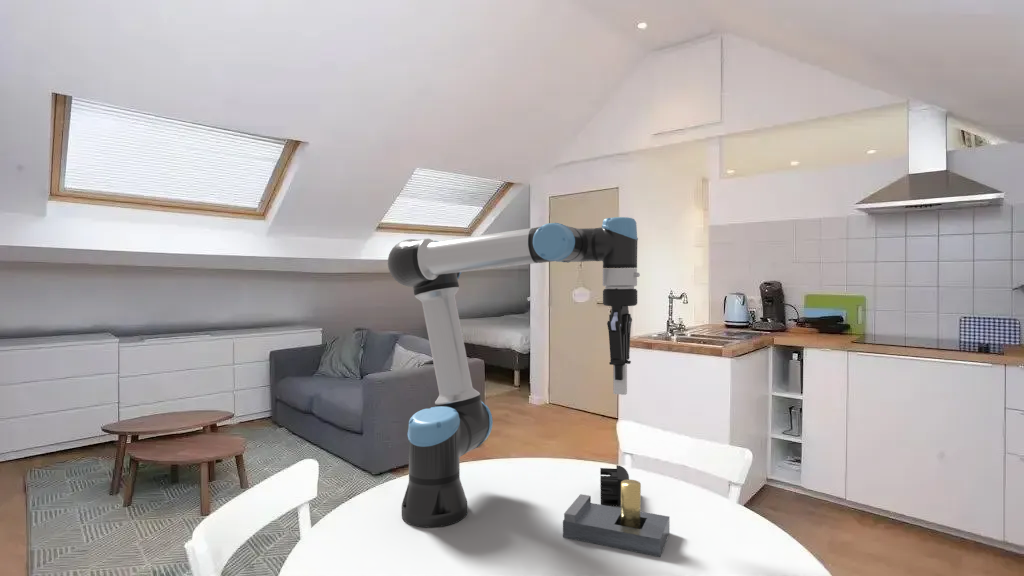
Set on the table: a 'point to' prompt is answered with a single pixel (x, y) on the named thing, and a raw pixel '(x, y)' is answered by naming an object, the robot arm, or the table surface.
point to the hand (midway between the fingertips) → (620, 393)
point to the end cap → (612, 485)
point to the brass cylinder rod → (630, 503)
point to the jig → (614, 527)
